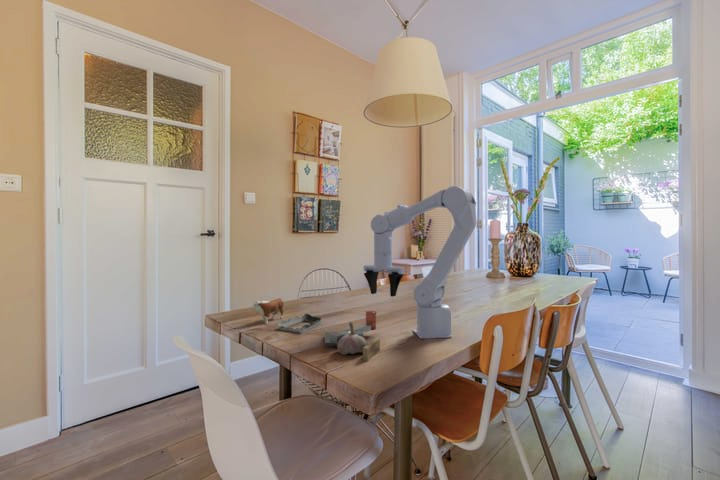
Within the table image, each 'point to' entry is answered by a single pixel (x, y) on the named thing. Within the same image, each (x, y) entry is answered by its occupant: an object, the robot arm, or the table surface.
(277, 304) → the bull figurine
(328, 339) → the base
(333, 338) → the lever
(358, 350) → the garlic bulb
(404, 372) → the table surface
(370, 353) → the bar
